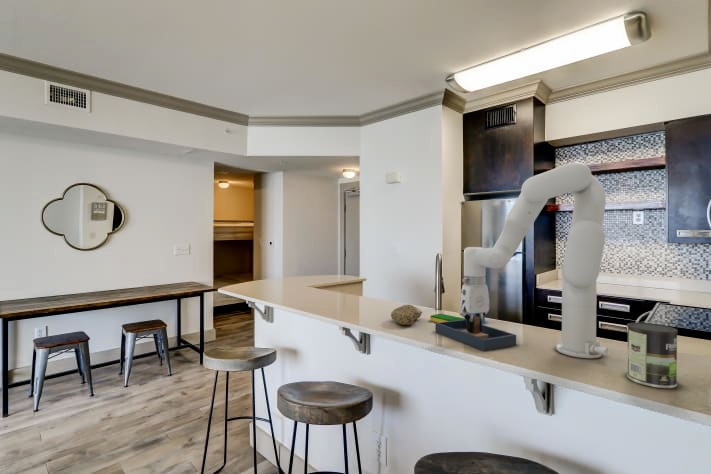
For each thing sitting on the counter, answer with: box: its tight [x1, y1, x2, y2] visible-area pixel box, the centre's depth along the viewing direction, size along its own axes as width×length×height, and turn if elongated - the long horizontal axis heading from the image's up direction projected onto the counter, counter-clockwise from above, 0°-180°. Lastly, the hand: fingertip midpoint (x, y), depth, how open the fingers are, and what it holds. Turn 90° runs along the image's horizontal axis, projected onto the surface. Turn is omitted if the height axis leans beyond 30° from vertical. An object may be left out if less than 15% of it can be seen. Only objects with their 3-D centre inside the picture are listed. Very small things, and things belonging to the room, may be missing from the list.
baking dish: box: [435, 318, 517, 352], centre depth 137 cm, size 26×15×4 cm, turn 25°
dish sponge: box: [429, 313, 465, 323], centre depth 161 cm, size 7×14×2 cm, turn 38°
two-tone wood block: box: [460, 315, 488, 339], centre depth 137 cm, size 9×5×8 cm, turn 26°
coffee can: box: [626, 321, 679, 389], centre depth 98 cm, size 10×10×14 cm
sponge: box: [390, 304, 423, 326], centre depth 161 cm, size 13×8×20 cm
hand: (474, 330), depth 137 cm, fingers closed on two-tone wood block, 2 cm apart
